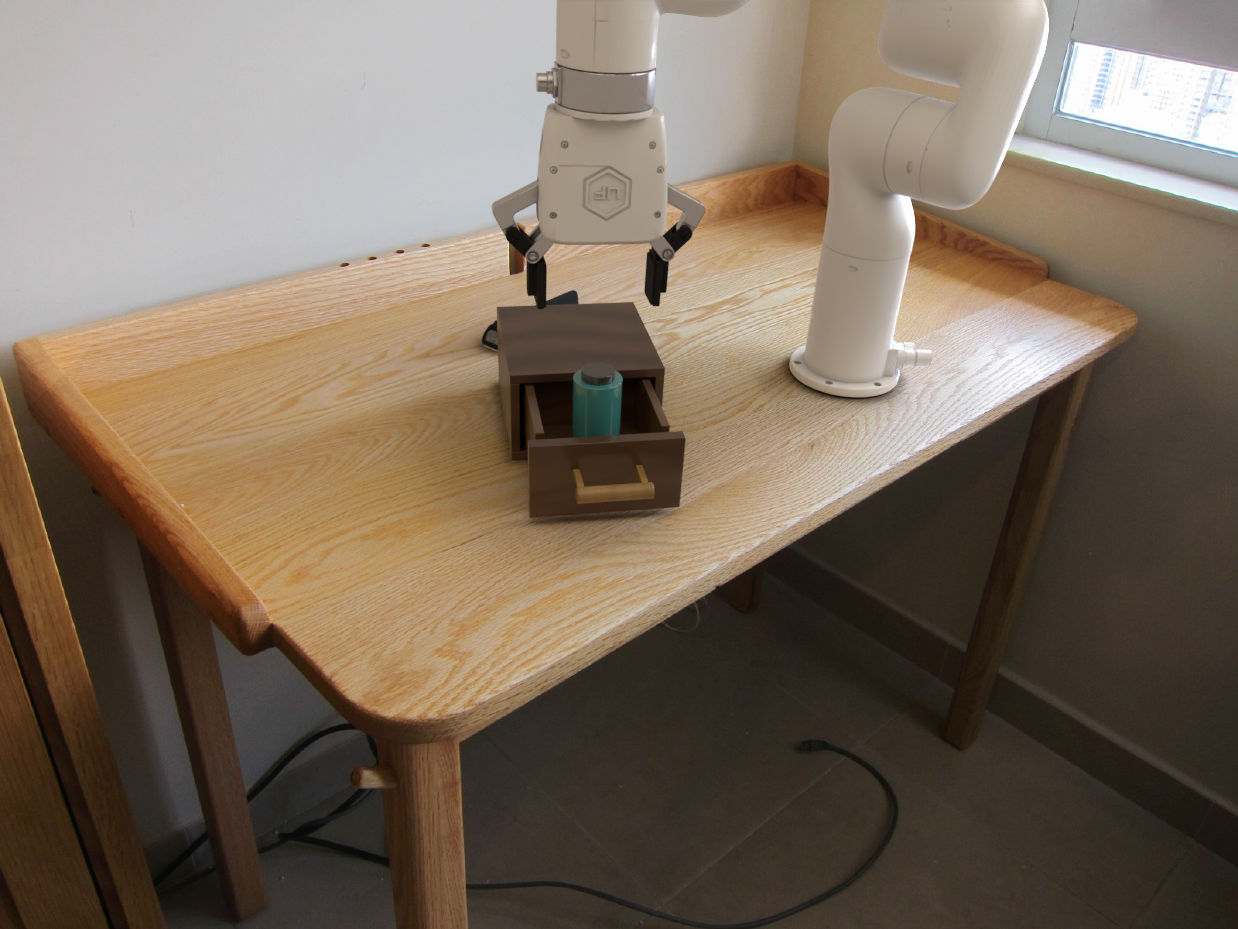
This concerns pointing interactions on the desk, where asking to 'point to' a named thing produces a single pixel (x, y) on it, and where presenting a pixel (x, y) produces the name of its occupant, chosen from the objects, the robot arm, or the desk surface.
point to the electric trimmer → (567, 298)
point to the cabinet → (568, 351)
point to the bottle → (596, 401)
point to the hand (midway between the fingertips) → (596, 301)
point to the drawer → (599, 454)
